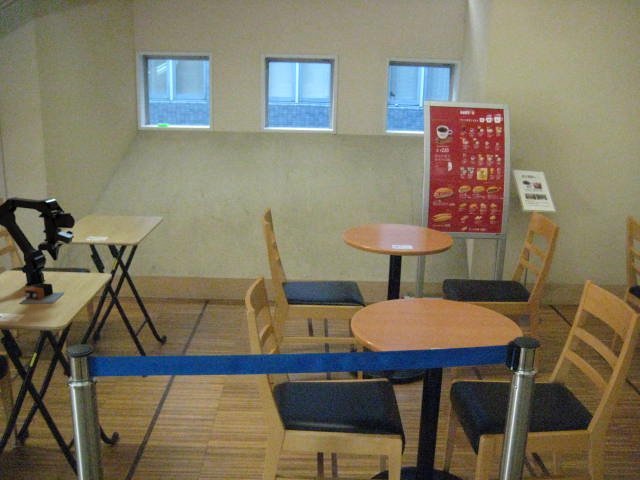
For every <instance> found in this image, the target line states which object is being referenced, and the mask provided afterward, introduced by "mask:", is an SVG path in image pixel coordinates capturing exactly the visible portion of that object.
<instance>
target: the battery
mask: <svg viewBox="0 0 640 480" xmlns="http://www.w3.org/2000/svg"><path fill="white" fill-rule="evenodd" d="M53 289H54V288H53V284H52V283H44V282H43V283H39V284H36V285H31V286H30V287H27V288H25V290H24V296H25V298H26V299H34V300H40V299H42V298H44V297H46V296H48V295H50V294H52V293H54V290H53Z"/></svg>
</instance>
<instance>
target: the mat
mask: <svg viewBox="0 0 640 480" xmlns="http://www.w3.org/2000/svg"><path fill="white" fill-rule="evenodd" d="M64 294H65V292H53V293H52V294H50V295H48V296H46V297H44V298H42V299H40V300H34V299H26V297H25V298H23V299H22V300H20V302H19V305H20V304H22V305H23V304H54V303H55V302H56V301H57V300H59V299H60V298H61V297H62V296H64Z"/></svg>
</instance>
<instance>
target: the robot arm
mask: <svg viewBox="0 0 640 480" xmlns="http://www.w3.org/2000/svg"><path fill="white" fill-rule="evenodd" d="M18 208H21V209H29V210H30V209H31V210H35V211H37V212H38V213H40V214H39V215H38V218H41V219H43V226H44V230H43V231H42V232H43V233H44V235H45V239H44V241H42V242H41V243H39V244H38V245H37V248H35V247H34V246H33V245H32V244H31V242H30V241H29V239H28V238H27V236H26V235H25V233H24V232H23V230H22V229H21V228H20V226H19V224H18V223H17V220H16V219H17V218H16V214H15V212H16V211H17V209H18ZM75 220H76V219H75V218H74V216H73V215H72V214H71V212H65V211H64V210H63V208H62V206H60V204H59V202H58V201H57V200H56V199H55V198H44V199H33V198H32V199H30V198H22V197H17V196H15V197H8V198H7V199H6V200H5V201H4V202H3V203H2V204H0V226H2V227H3V228H4V229H6V231H7V232H8V234H9V235H10V236H11V239H13V241H14V242H15V244H16V245H17V246H18V249H20V251H21V252H22V254H23V262H24V265H23V267H21V271H22V273H23V274H25V277H26V283H25V286H34V285H36V284H39V283H44V282H46V280H45V275H44V272H43V269H45V265H46V264H47V258H46V255H45V254H44V253H43V251H47V253H48V254H49V256H51V258H52V259H53V261H57V260H58V257H59V254H60V253H59V252H60V248H61V247H62V246H64V243H65V244H67V245H69V244H70V243H72V242H73V238H74V233H73V231H72V230H70V229H73V228H74V226H75V223H76V221H75ZM62 229H69V230H67V231H62Z"/></svg>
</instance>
